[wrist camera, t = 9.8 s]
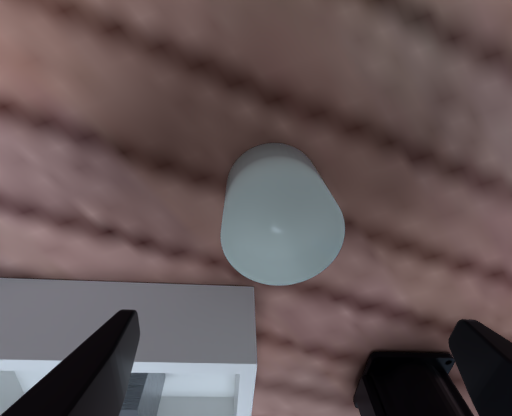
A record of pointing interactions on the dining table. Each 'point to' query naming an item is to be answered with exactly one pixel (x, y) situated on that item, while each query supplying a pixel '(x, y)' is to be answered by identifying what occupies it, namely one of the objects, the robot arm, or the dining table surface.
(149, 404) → the metal block
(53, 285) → the tote
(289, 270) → the jar
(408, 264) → the dining table surface
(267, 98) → the dining table surface
